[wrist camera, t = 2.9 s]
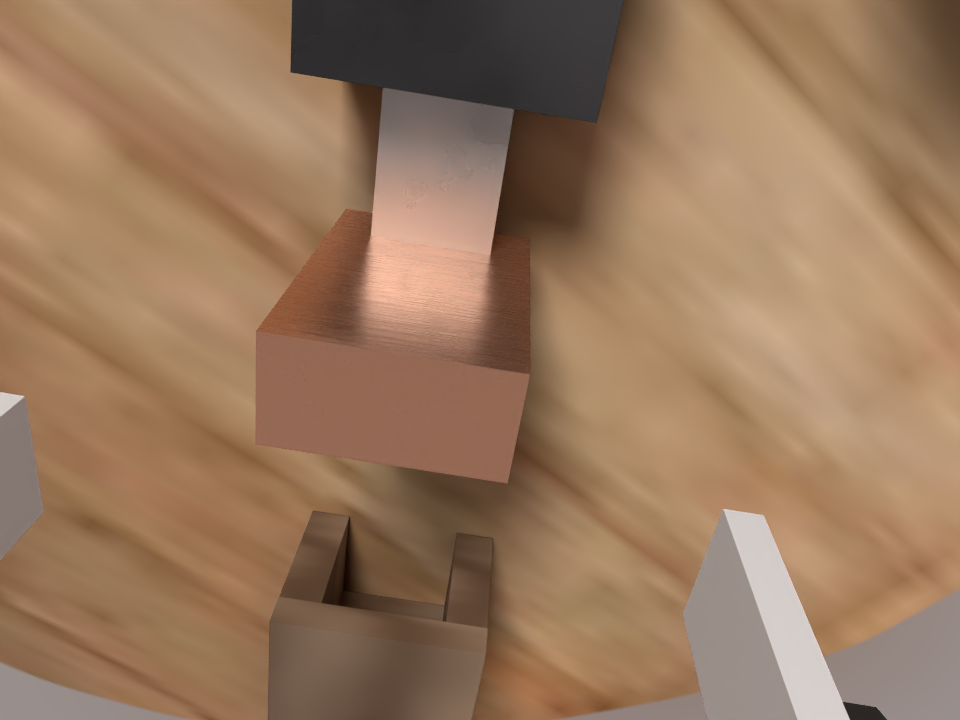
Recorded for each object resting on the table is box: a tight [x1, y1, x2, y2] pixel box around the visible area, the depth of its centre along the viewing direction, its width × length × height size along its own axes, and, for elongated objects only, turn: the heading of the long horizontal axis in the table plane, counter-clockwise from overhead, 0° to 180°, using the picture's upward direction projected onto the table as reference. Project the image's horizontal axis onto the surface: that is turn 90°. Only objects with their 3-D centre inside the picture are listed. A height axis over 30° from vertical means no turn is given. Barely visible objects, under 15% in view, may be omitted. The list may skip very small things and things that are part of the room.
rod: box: [256, 88, 530, 483], centre depth 18 cm, size 6×28×11 cm, turn 171°
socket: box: [268, 511, 493, 720], centre depth 31 cm, size 8×6×6 cm
